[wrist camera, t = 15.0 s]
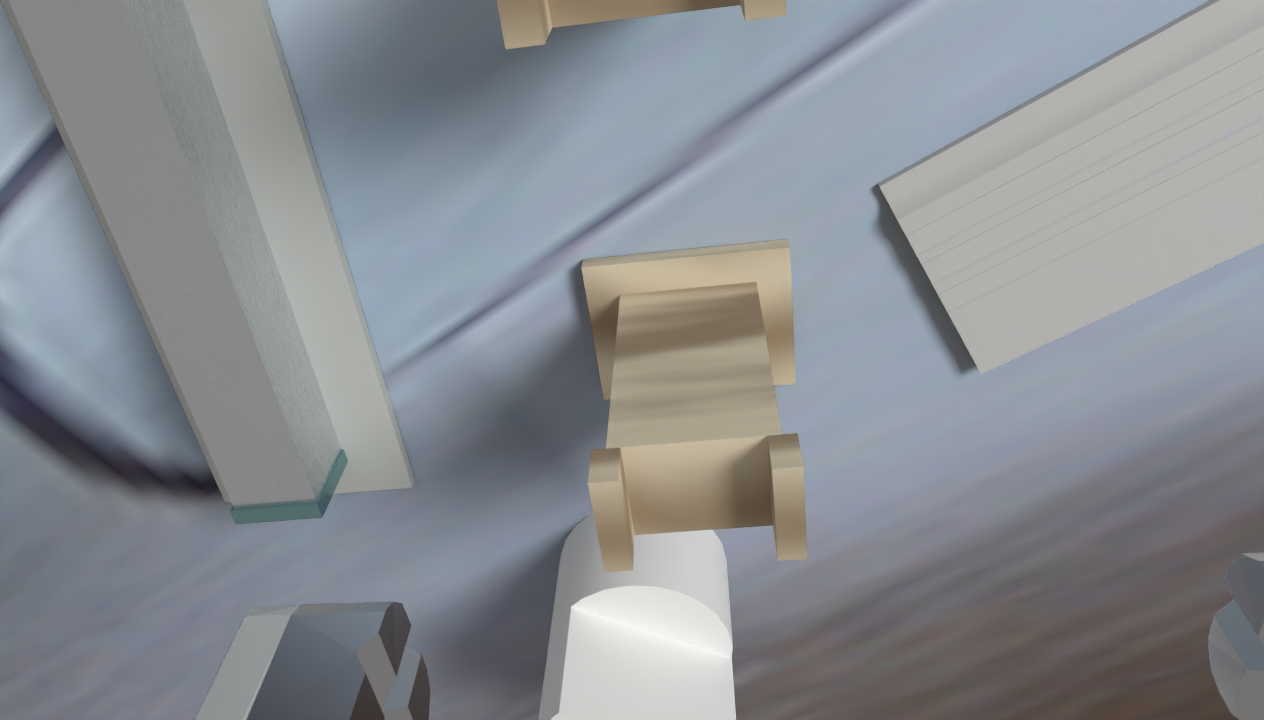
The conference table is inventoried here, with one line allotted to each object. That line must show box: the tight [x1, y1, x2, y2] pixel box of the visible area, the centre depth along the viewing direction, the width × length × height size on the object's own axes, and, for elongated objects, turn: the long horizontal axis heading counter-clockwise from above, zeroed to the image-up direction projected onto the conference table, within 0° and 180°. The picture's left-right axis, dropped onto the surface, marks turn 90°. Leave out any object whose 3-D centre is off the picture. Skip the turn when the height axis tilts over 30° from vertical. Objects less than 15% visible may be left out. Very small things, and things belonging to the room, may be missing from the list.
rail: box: [8, 0, 348, 524], centre depth 39 cm, size 30×4×4 cm, turn 7°
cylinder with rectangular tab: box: [538, 513, 736, 720], centre depth 47 cm, size 9×9×12 cm
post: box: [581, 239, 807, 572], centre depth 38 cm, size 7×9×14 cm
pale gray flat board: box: [0, 0, 415, 502], centre depth 41 cm, size 34×10×1 cm, turn 7°
